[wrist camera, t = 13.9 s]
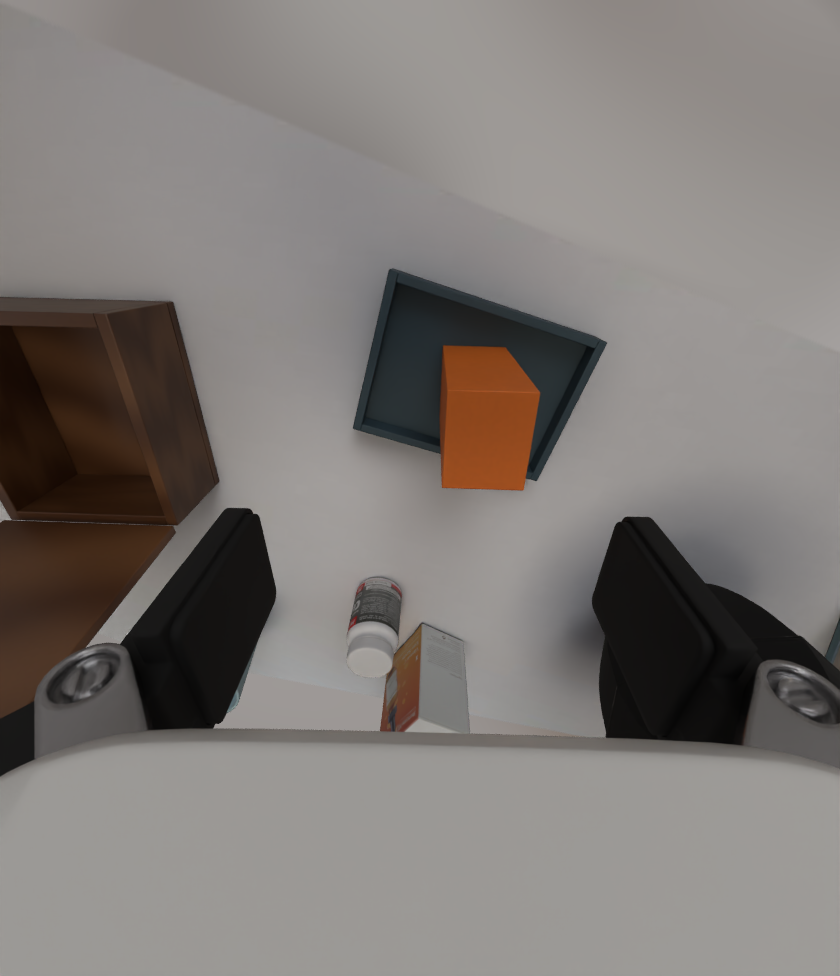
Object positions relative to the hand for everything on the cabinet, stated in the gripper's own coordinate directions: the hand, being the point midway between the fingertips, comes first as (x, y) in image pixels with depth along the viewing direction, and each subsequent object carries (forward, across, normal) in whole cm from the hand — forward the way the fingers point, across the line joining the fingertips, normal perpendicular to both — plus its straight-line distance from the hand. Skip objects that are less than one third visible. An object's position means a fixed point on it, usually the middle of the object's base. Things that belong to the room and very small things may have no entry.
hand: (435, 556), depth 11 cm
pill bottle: (+22, +5, +24) cm, 33 cm away
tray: (+22, -3, +2) cm, 23 cm away
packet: (+22, -3, +2) cm, 22 cm away
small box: (+22, 0, +33) cm, 40 cm away
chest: (+23, +25, +4) cm, 34 cm away
